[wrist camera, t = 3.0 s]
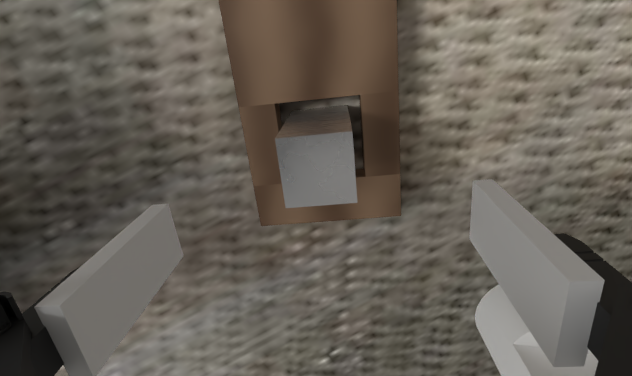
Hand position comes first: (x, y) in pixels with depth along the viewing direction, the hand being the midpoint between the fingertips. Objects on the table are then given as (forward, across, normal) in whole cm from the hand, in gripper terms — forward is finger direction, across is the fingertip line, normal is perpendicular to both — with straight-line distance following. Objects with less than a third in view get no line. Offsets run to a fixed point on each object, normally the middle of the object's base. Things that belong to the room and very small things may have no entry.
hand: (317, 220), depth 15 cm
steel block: (+15, 0, 0) cm, 15 cm away
